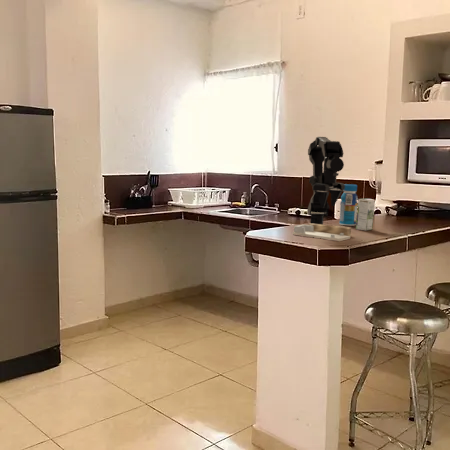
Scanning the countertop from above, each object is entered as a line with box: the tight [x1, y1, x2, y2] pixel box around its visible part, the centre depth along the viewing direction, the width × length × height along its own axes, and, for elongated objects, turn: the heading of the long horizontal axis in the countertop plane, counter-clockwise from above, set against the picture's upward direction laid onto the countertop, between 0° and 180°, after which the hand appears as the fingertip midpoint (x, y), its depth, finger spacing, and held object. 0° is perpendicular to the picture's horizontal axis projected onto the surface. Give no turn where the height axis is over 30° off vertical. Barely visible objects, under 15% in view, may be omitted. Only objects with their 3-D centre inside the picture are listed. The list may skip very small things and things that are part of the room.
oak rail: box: [308, 223, 352, 237], centre depth 240 cm, size 18×4×4 cm, turn 59°
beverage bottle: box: [338, 183, 359, 227], centre depth 273 cm, size 8×8×20 cm
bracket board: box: [292, 224, 351, 242], centre depth 233 cm, size 10×22×4 cm, turn 51°
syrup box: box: [355, 198, 376, 231], centre depth 258 cm, size 6×6×14 cm
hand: (327, 206), depth 239 cm, fingers open, 9 cm apart
